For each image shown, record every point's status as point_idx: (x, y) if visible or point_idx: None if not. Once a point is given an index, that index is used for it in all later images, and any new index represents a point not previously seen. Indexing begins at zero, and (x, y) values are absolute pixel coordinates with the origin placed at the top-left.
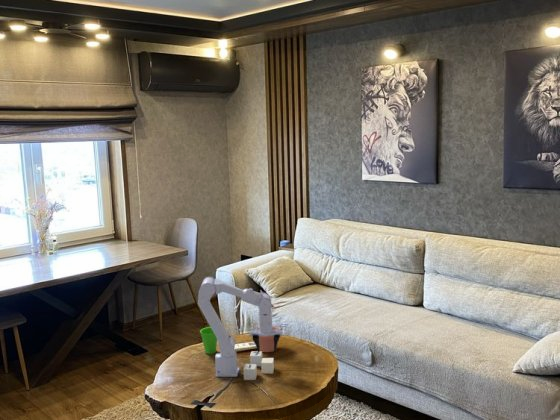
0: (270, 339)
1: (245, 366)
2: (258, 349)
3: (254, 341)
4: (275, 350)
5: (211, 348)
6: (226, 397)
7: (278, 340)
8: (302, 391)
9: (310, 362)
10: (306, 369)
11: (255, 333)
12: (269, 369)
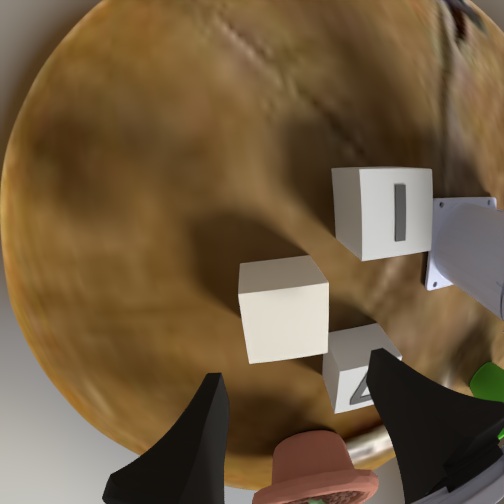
0: (297, 480)
1: (426, 212)
2: (388, 361)
3: (474, 400)
4: (204, 381)
5: (493, 375)
6: (406, 10)
7: (121, 468)
8: (54, 97)
9: (101, 375)
10: (87, 318)
11: (499, 490)
12: (262, 270)
